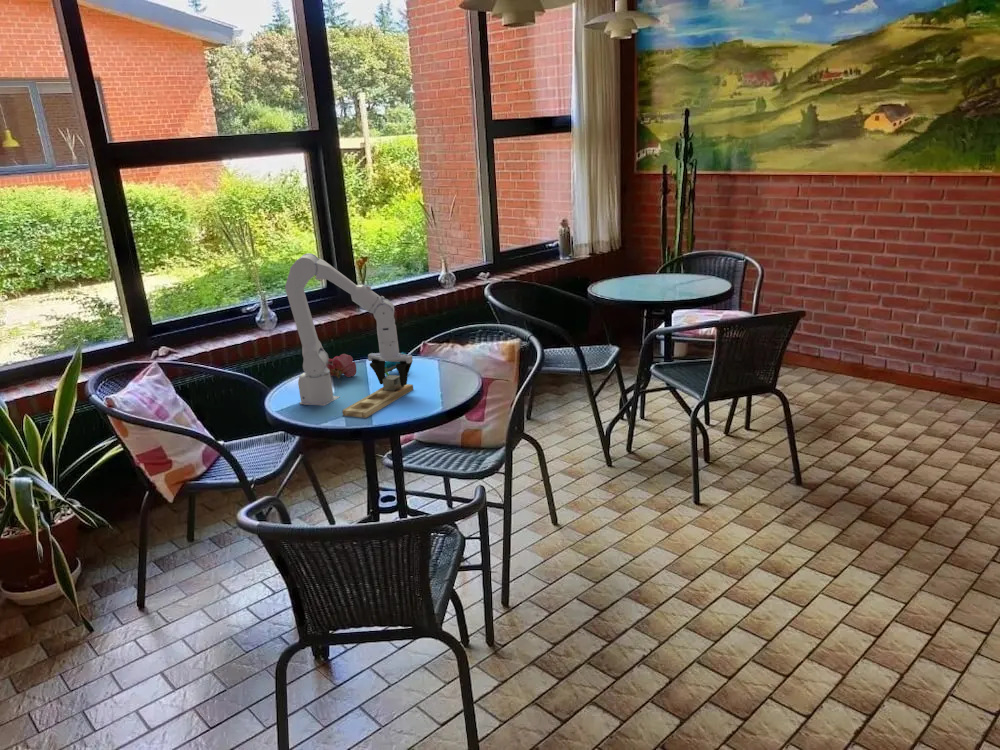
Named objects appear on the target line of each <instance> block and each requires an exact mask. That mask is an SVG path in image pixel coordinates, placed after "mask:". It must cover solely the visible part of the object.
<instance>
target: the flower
mask: <svg viewBox="0 0 1000 750" xmlns="http://www.w3.org/2000/svg"><path fill="white" fill-rule="evenodd" d="M328 358H329V357H328ZM326 366H327V368H328V369H329V370H330V377H331V378H332V377H333V376H335V378H338V379H340V378H341V377H342V375H344V376H346V377H347V378H352V377H351V376H353V377H355V376H356V375H357V364H356V362H355V361H353V357H352V356H351V355H349V354H346V353H342V354H340V355H339V356H338V355H336V356H334V357H333V358H329V360H328V363H327V365H326ZM339 382H340V383H342V381H341V380H339Z"/></svg>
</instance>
